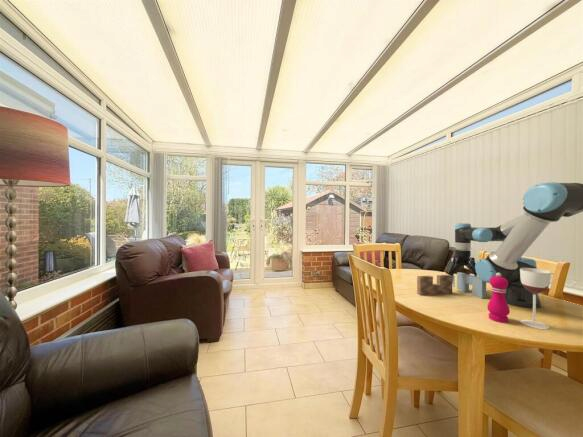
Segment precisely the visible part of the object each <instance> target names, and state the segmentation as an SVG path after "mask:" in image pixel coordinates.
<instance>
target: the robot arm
mask: <svg viewBox="0 0 583 437" xmlns="http://www.w3.org/2000/svg"><path fill="white" fill-rule="evenodd" d="M522 200H523V201H522V204H523V207H522V210H523V212H524V213H523V214H522V215H520V216H517V217H515V218H513V219H511V220H508V221H507V222H505V223H503V224H501V225H498V226H495V227H475V226H473V227H472V225H471V224H470V223H467V222H464V223H460V222H459V223H458V222H457V223H455V227H454V249H455V250H454V256H455V257H454V258H453V257H450V260H449V264H448V266H447V268H446V270H445V275H452V288H455V283H456V282H455V280H456V279H455V278H456V277H455V273H457V271H458V269H459V268H460V267H462V266H463V267H464V266H466V268H467V269H468V270H469V272H470V273H469V275H472V276H475V277H479V278H480V279H481V280H482V281H484V282H486V284H490V282H489V281H490V278H491V277H493V276H496V273H501V277H504V278H505V279H506V280H507V281H508V286H507V287H506V288H505V289H506V293H505V299H506V302H507V304H508V305H509V304H510V305H512V306H517V307H521V308H528V309H533V293H531V292H530V291H528V290H526V289H525V288H524V287H523V285H522V283H521V278H520V268H535V269H538V267H537V261H536V260H535V259H532V258H527V257H523V255H524V254H525V253H526V252H527V250H528V249H529V248H530V247H531V246H532V245H533V243H534V242H535V241H537V239H538V237H539V236H540V235H541V234H542V233H543V232H544V231H545V229H546V228H547V227H548V226H549V225H550V223H557V222H558V221H560V219H562V218H563V217H565V218H569V217H572V216H574V215H577V214H580V213H582V212H583V183H580V182H555V181H554V182H550V181H549V182H542V183H538V184H534V185H533V186H531V187H530V188H528V189H527V190H526V191H525V192H524V194H523V197H522ZM471 241H472V242H478V243H488V242H501V244H500V245H499V246H498V247H497V249H496V251H491V252H489V253H488V255H487V256H486V257H485V258H481V259H478V260H477V261H476V259H475V257H472V256H471V254H472V253H471V249H472V246H471V244H472V242H471ZM541 307H542V300H541V299H540V296H539V294H536V309H538V308H541Z"/></svg>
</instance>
